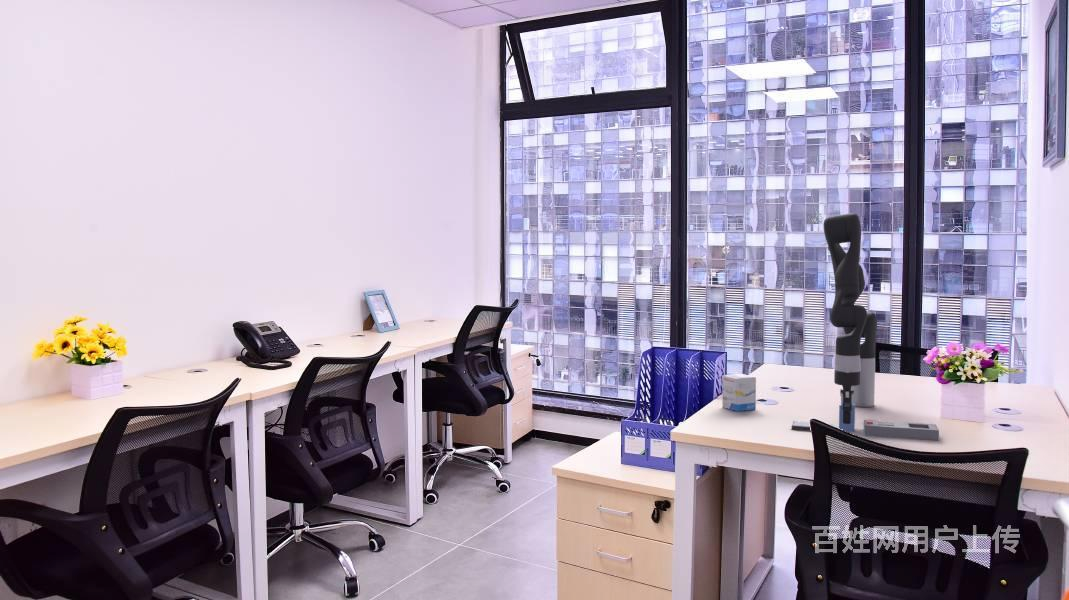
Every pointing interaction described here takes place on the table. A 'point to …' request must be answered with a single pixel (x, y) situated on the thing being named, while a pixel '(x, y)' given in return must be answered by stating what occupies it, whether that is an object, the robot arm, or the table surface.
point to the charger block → (841, 425)
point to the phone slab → (802, 425)
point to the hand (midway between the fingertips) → (846, 420)
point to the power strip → (901, 429)
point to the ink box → (739, 392)
